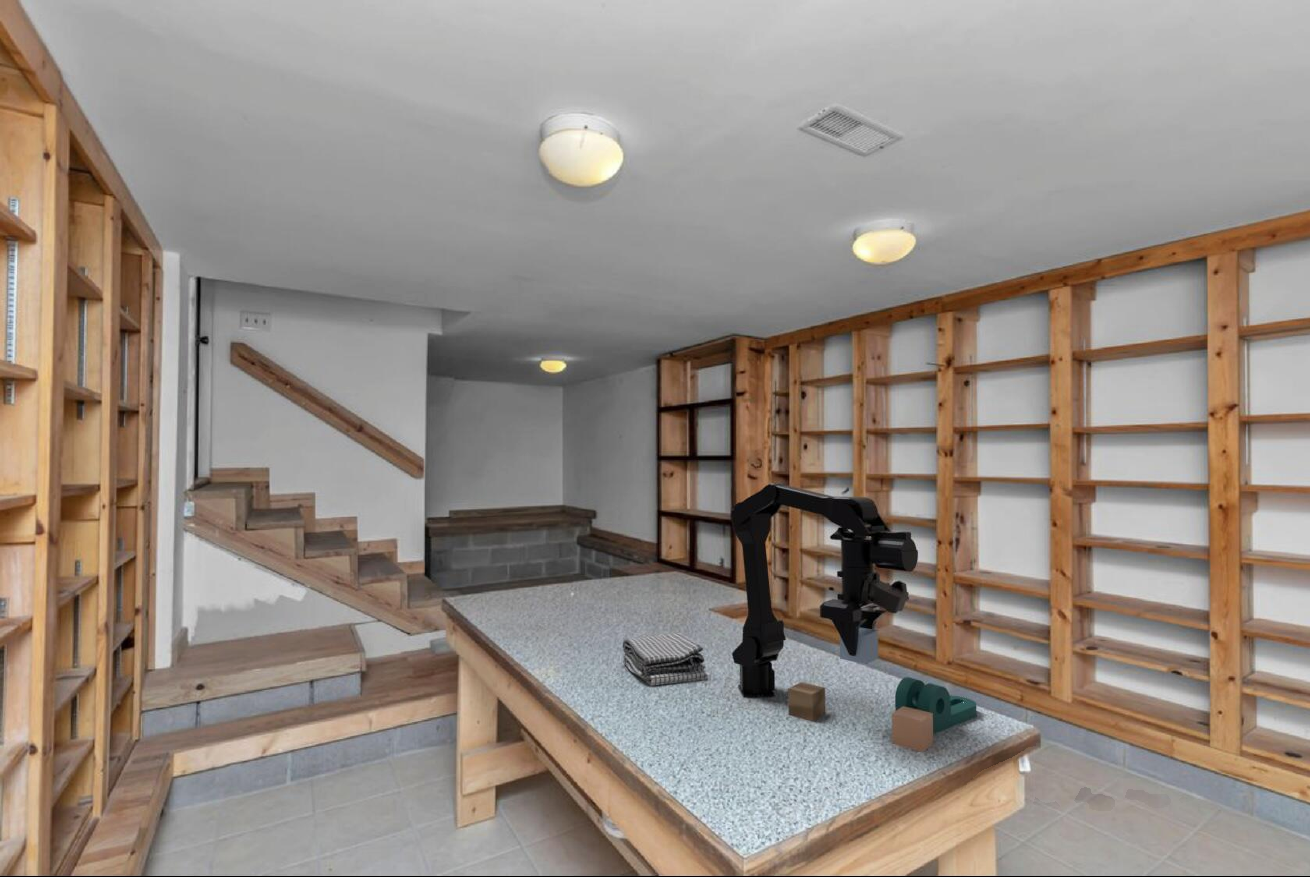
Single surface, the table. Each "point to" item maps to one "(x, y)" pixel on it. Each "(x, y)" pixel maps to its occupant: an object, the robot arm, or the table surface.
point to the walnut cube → (806, 701)
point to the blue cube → (862, 647)
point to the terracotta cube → (912, 728)
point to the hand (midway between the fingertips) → (858, 652)
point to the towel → (664, 659)
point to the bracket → (934, 703)
